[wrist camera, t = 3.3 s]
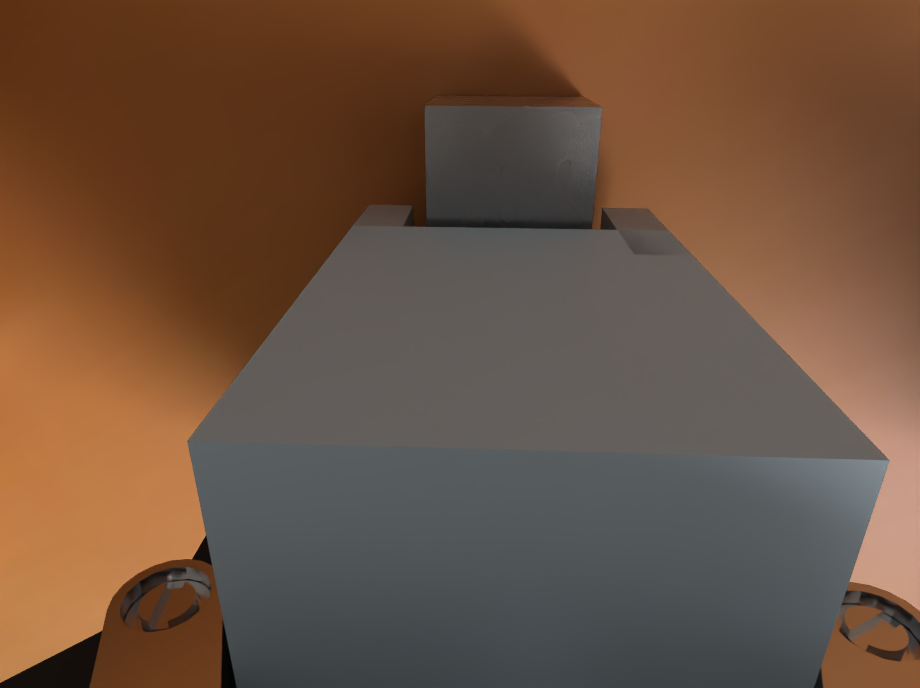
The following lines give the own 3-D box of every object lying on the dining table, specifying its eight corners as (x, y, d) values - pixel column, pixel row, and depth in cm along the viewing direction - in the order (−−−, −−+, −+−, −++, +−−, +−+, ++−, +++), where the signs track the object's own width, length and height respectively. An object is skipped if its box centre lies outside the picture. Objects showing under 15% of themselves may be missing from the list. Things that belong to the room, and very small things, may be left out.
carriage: (368, 204, 13) (186, 440, 5) (647, 209, 13) (889, 461, 5) (385, 519, 17) (289, 952, 9) (608, 526, 16) (717, 977, 8)
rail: (435, 95, 13) (424, 105, 11) (583, 96, 13) (602, 106, 11) (443, 829, 24) (438, 912, 21) (526, 833, 24) (529, 917, 21)
